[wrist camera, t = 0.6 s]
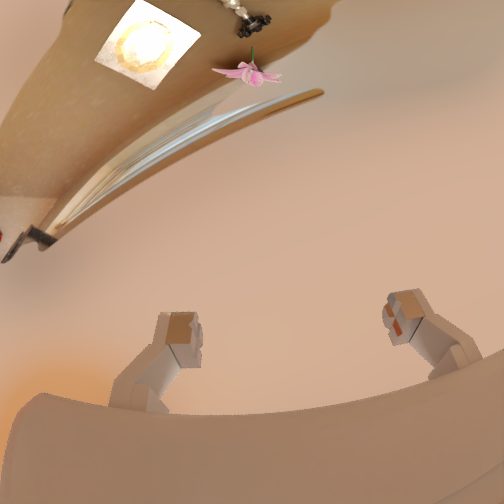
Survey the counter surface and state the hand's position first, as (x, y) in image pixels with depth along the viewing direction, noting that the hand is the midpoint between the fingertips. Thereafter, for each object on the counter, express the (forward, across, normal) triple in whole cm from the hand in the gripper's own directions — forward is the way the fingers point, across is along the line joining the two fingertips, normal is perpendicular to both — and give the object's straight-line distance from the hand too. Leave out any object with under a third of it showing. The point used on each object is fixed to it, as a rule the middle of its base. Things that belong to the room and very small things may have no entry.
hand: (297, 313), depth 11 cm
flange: (+44, +18, -18) cm, 51 cm away
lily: (+49, 0, -10) cm, 50 cm away
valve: (+44, +2, -23) cm, 50 cm away
